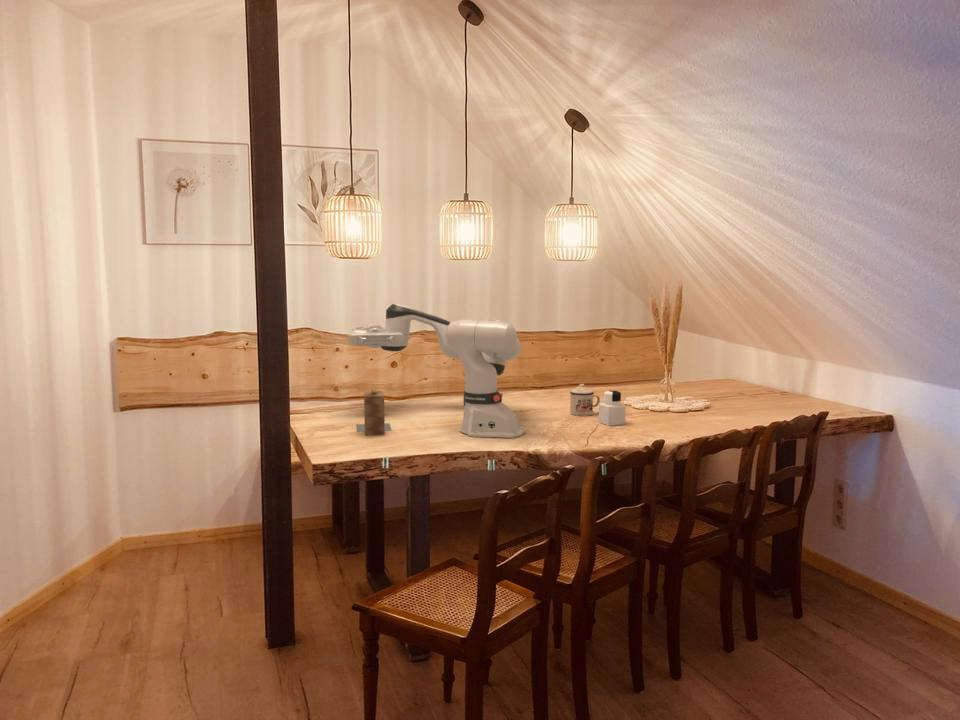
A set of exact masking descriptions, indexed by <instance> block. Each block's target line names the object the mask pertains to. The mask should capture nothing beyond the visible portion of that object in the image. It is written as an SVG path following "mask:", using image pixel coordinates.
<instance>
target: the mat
mask: <svg viewBox="0 0 960 720" xmlns="http://www.w3.org/2000/svg"><path fill="white" fill-rule="evenodd" d="M355 427H356V433H363V432H364V433H365V423H361V424H359V423H358V424H357V423H356V425H355ZM391 427H392V426H391V423H389V422H388V423H387V422H385V432H392V428H391Z"/></svg>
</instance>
